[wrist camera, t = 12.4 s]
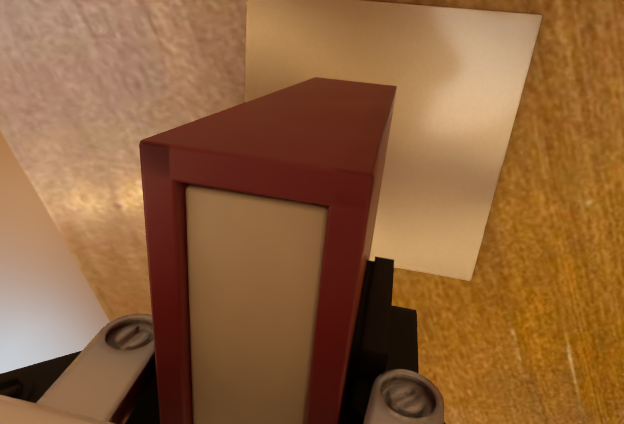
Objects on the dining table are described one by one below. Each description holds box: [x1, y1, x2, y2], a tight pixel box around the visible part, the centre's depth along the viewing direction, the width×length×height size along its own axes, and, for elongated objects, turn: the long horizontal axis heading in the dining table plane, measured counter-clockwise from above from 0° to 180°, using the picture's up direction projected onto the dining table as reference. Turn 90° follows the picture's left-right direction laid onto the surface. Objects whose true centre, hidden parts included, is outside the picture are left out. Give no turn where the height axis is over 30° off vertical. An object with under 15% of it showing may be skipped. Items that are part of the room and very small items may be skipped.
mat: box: [245, 0, 543, 281], centre depth 29 cm, size 18×18×1 cm
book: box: [139, 77, 397, 424], centre depth 12 cm, size 11×3×11 cm, turn 175°
